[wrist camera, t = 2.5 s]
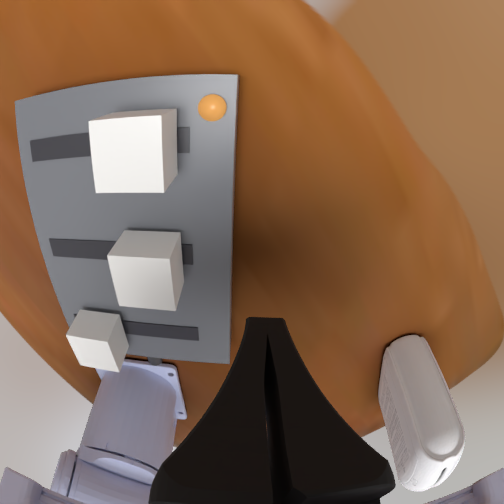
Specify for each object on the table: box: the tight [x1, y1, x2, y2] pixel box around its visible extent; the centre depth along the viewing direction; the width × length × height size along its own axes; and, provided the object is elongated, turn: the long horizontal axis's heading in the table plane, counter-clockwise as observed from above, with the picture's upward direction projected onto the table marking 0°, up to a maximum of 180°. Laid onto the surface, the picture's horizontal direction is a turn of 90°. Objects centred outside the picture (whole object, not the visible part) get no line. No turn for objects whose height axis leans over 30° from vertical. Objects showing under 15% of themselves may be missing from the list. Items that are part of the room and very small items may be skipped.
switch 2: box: [88, 109, 178, 193], centre depth 12 cm, size 3×3×2 cm
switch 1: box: [66, 310, 129, 372], centre depth 18 cm, size 3×3×2 cm
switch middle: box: [107, 230, 184, 311], centre depth 15 cm, size 3×3×2 cm
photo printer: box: [378, 335, 465, 492], centre depth 20 cm, size 10×4×12 cm, turn 14°
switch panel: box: [15, 74, 240, 366], centre depth 17 cm, size 20×12×2 cm, turn 177°
